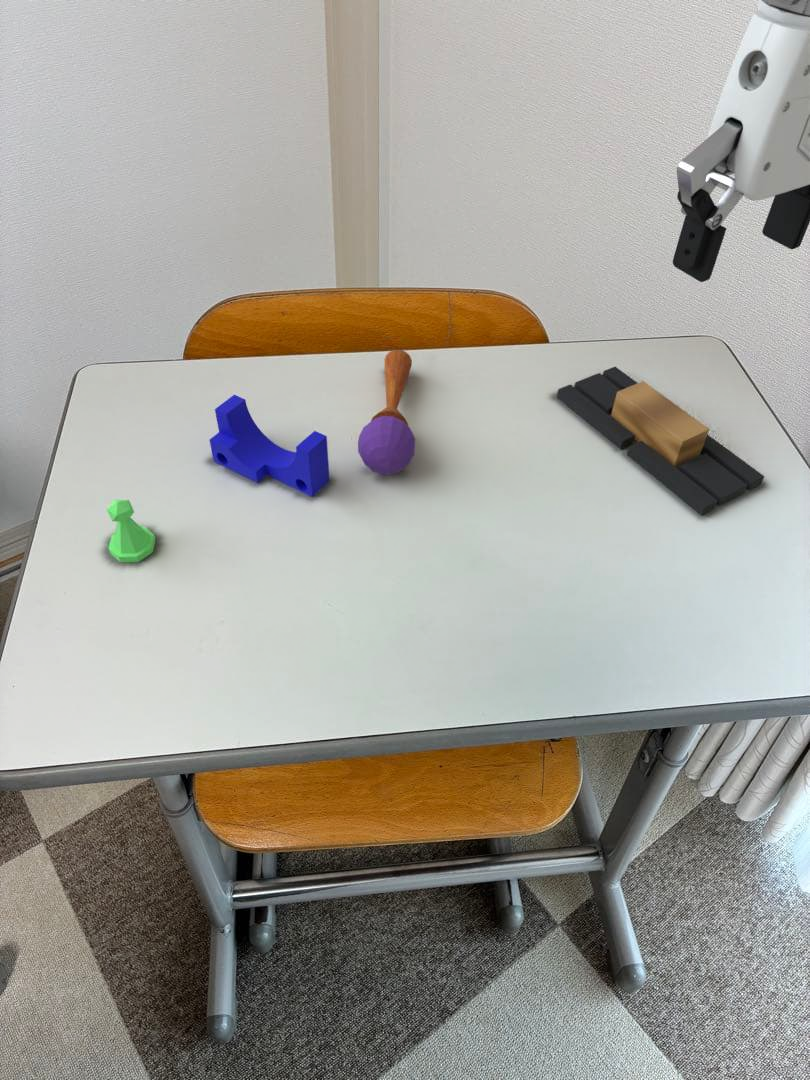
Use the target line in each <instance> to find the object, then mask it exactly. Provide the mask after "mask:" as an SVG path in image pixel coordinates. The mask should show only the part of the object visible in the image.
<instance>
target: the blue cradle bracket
mask: <svg viewBox="0 0 810 1080" xmlns="http://www.w3.org/2000/svg"><path fill="white" fill-rule="evenodd" d="M214 413H215V418H216V422H217V423H216V424H217V429H218V432H217V433H216V434H215V435H213V436H212V437H211V438H210V439H209V444H210V449H211V455H212V460H213V462H214V463H216V464H218V465H220V466H222V467H225V469H228V470H230V471H232V472H234V473H236V474H238V475H240V476H242V477H243V478H244V477H245V478H246V479H249V480H250V481H252V482H255V483H256V484H258V483H259V482H260V481H261V480H263V479H264V478H265V477H266V476H268V477H270V478H272V479H274V480H276V481H279V482H280V483H282V484H285V486H286V485H287V486H289V487H290V488H292V489H294V490H297V491H299V492H301V493H303V494H304V495H306V496H309V497H311V498H313V497H314V496H315V495H316V494H317V493H318V492H319V491H321V490H322V488H323V487H324V486H326V485H327V484H328V483H329V482H330V469H329V468H330V467H329V466H330V464H329V451H328V450H329V449H328V436H327V435H326V434H323V433H321V432H319V431H316V430H314V431H312V432H311V433H310V434H308V436H307V437H305V438H304V440H302V441H301V442H299V444H297V445H296V446H295V451H291V450H288V449H285V448H283V447H281V446H280V445H278V444H276V443H275V442H273V441H272V440H271V439H269V437H267V436H266V434H264V432H263V431H262V430H261V429H260V428H259V427H258V425H257V424H256V422H255V421H254V419H253V417H252V415H251V413H250V411H249V408H248V405H247V401H246V398H243V397H241V396H238V395H237V394H233V395H231V396H230V397H228V398H227V399H226V400H225V401H224V402H222V403H221V404H219V405H218V406H217V407H215V409H214Z"/></svg>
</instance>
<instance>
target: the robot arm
mask: <svg viewBox="0 0 810 1080" xmlns="http://www.w3.org/2000/svg"><path fill="white" fill-rule="evenodd" d="M756 8H757V10H756V11H754V13H753V15H752V17H751V19H750V21H749V24H748V26H747V28H746V30H745V33H744V35H743V37H742V40H741V42H740V44H739V47H738V50H737V52H736V53H735V56H734V60H733V62H732V64H731V67H730V69H729V72H728V74H727V78H726V81H725V83H724V86H723V89H722V90H721V94H720V97H719V100H718V102H717V106H716V109H715V112H714V114H713V118H712V121H711V124H710V128H709V131H708V135H707V138H706V139H705V140H703V141H702V143H700V144H699V145H698V146H697V147H696V148H694V149H693V150H692V151H691V152H690V153H688V154H687V155H686V156H685V157H683V159H682V160H681V161H680V162H679V163H678V165H677V167H676V177H677V187H678V191H677V195H676V196H677V200H678V202H679V204H680V206H681V208H680V212H681V214H682V215H683V216H684V220H683V223H682V227H681V230H680V233H679V236H678V240H677V244H676V248H675V251H674V255H673V258H672V265H673V267H674V268H676V269H678V270H680V271H681V272H683V273H684V274H686V275H688V276H690V277H691V278H693V279H694V280H696V281H698V282H700V283H704V282H706V281H709V280H710V279H711V277H712V275H713V271H714V269H715V265H716V262H717V260H718V257H719V254H720V250H721V247H722V244H723V241H724V238H725V235H726V231H727V227H725V226H723V225H722V223H723V222H725V220H726V219H727V218H728V216H729V215H730V213H732V211H733V209H734V208H735V207H736V206H737V204H739V202H740V200H741V199H742V198H743V197H744V198H745V199H748V200H749V201H754V202H755V201H756V202H757V201H761V200H765V199H768V198H772V197H774V198H773V200H772V203H771V206H770V208H769V211H768V214H767V217H766V220H765V222H764V225H763V227H762V231H761V232H762V235H763V236H765V237H767V239H770V240H772V241H774V242H776V243H778V244H780V245H782V246H784V247H786V248H788V249H789V250H795V249H797V248H799V247H801V245H802V243H803V241H804V237H805V234H806V233H807V230H808V227H809V225H810V0H758V1H757V4H756ZM732 175H734V177H732ZM716 187H717V188H719V189H721V190H722V191H724V193H723V195H722V196H721V197H720V198H719V200H718V201H717V202H716V204H715V203H714V200H713V198H712V196H711V193H713V191H714V190H715V189H716Z"/></svg>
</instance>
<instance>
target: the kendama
mask: <svg viewBox="0 0 810 1080" xmlns="http://www.w3.org/2000/svg"><path fill="white" fill-rule="evenodd" d="M383 359H384V361H383V362H384V364H383V365H384V377H385V378H384V379H385V380H384V382H385V401H386V402H385V403H386V407H385V408H383V409H382V410H381V411H379V412H377V413H376V414H375V415H374V416H372V417H371V420H370V422H368V423H367V424H365V426H363V427H362V429H361V432H360V434H359V436H358V441H357V448H358V449H357V453H358V454H359V456H360V458H361V460H362V462H363V464H364V466H366V468H368V469H369V470H370V471H371V472H374V473H376V474H380V475H393V474H397V473H399V472H401V471H402V470H404V469H405V468H406V467H407V466H408V465H409V464H411V461H412V460H413V458H414V457H415V452H416V451H415V450H416V438H415V435H414V432H413V431H412V429H411V428H410V426H409V422H408V420H407V419H406V417H404V415H403V414H402V413H401V411H399V409H398V408H399V404H400V401H401V399H402V395H403V392H404V390H405V386H406V383H407V380H408V377H409V374H410V372H411V370H412V364H413V360H412V357H411V356H410V354H409V353H407V352H406V351H404V350H402V349H393V350H391V351H389V352H388V353H386V355H385V357H384V358H383Z"/></svg>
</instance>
